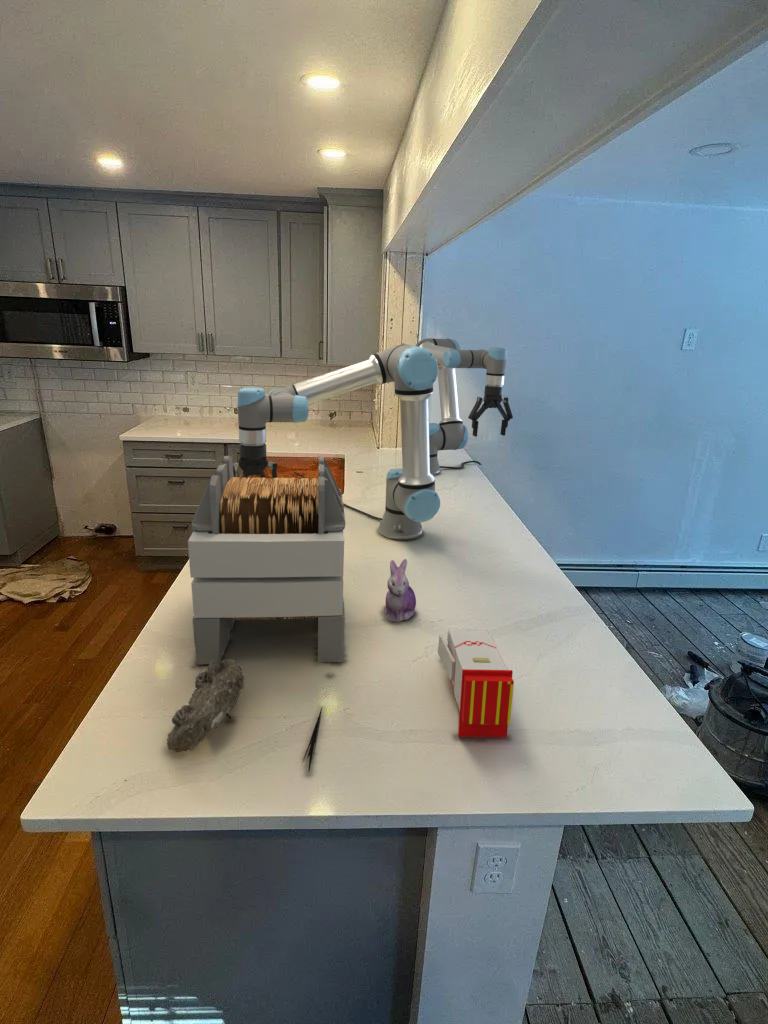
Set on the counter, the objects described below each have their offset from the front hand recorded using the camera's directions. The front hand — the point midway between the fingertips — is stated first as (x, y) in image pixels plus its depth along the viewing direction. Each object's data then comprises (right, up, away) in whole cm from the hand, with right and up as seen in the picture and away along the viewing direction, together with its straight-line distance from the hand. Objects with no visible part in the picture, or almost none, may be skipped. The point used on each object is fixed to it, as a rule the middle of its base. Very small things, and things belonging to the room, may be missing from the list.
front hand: (255, 518), depth 169 cm
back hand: (+84, +35, +75) cm, 118 cm away
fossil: (+6, -37, -61) cm, 72 cm away
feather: (+26, -38, -61) cm, 76 cm away
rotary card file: (+12, -26, -29) cm, 41 cm away
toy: (+56, -36, -51) cm, 84 cm away
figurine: (+43, -25, -22) cm, 54 cm away
